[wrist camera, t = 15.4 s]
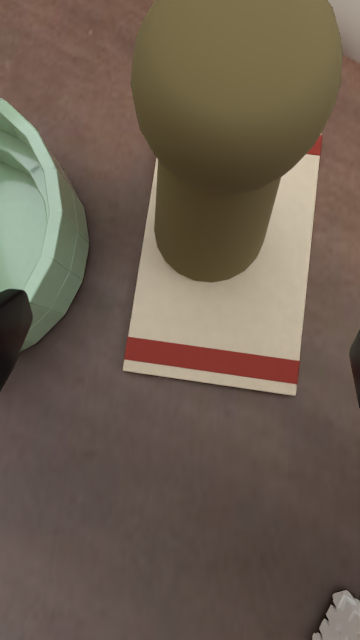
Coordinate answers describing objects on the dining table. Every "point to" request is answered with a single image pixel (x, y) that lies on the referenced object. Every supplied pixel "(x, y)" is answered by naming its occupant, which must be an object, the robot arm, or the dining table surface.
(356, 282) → the dining table surface
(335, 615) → the game pieces
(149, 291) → the towel
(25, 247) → the bowl
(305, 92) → the cork
